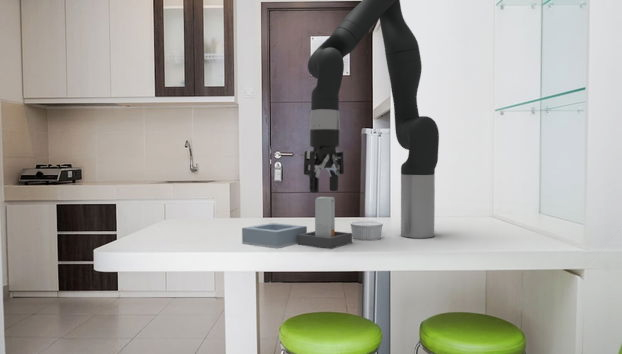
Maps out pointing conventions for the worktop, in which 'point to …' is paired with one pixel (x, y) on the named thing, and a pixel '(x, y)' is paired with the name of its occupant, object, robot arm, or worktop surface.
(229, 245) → the worktop surface
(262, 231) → the blue-grey square tray
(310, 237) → the dark grey square tray
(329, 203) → the skincare box
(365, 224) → the ramekin
